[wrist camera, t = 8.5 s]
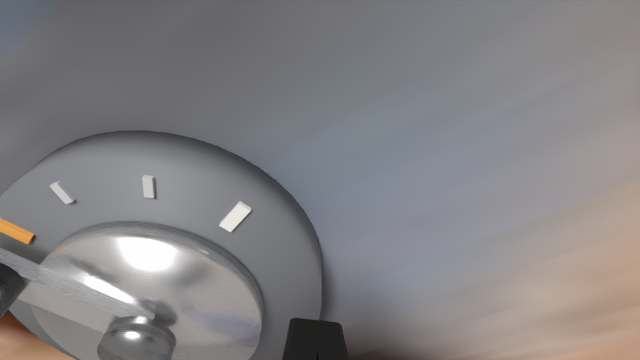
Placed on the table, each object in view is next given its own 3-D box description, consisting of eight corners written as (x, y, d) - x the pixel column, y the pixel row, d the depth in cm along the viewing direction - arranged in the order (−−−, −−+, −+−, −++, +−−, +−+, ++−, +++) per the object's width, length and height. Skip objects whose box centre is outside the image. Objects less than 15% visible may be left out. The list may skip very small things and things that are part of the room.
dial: (306, 292, 20) (299, 408, 15) (201, 384, 25) (172, 493, 20) (4, 134, 15) (-141, 231, 10) (-51, 287, 20) (-166, 400, 15)
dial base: (300, 362, 28) (297, 401, 26) (51, 335, 27) (25, 373, 24) (350, 161, 19) (353, 194, 17) (-29, 102, 17) (-82, 130, 15)
